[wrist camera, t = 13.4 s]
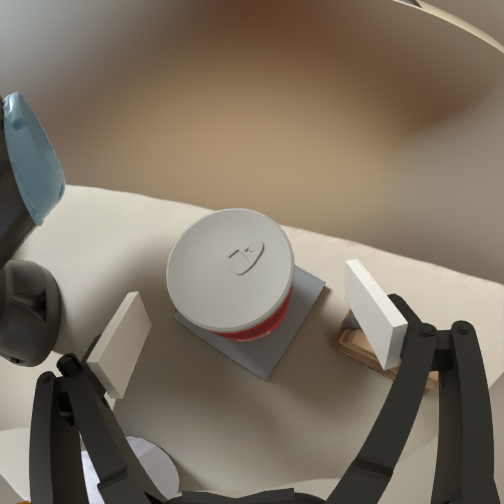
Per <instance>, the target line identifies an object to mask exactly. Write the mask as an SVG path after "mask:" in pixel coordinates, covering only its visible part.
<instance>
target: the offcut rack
mask: <svg viewBox="0 0 504 504" xmlns="http://www.w3.org/2000/svg"><path fill="white" fill-rule="evenodd" d="M330 346H332V347H334V348H335V349H337V350H339V351H341V352H342V353H344V354H346V355H348V356H350V357H352V358H353V359H355V360H357V361H359V362H361V363H362V364H364V365H366V366H368V367H370V368H372V369H374V370H375V371H377V372H379V373H381V374H383V375H385V376H387V377H389V378H391V379H393V380H395V377H396V375H397V372H398V369H399V367H400V364H401V359H399V363H398V366H397V367H394V368H390V369H387V370H383V368H382V366H381V364H380V362H379V360H378V358H377V356H376V354H375V352H374V350H373V348H372V347H371V345H370V343H369V341H368V339H367V337H366V335H365V334H364V332H363V330H362V328H361V326H360V324H359V323H358V321H357V319H356V317H355V315H354V314H353V312H352V310H351V308H350V310H349V311H348V313H347V315H346V317H345V319H344V320H343V322H342V324H341V326H340V328H339V330H338V332H337V333H336V335H335V337H334V339H333V340H332V342H331V344H330ZM438 381H439V379H438V371H433V372H429V376H428V380H427V383H426V387H425V390H424V393H423V394H424V395H426V393H427V391H428V389H429V390H434V389H435V387H436V385H437V383H438Z"/></svg>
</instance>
